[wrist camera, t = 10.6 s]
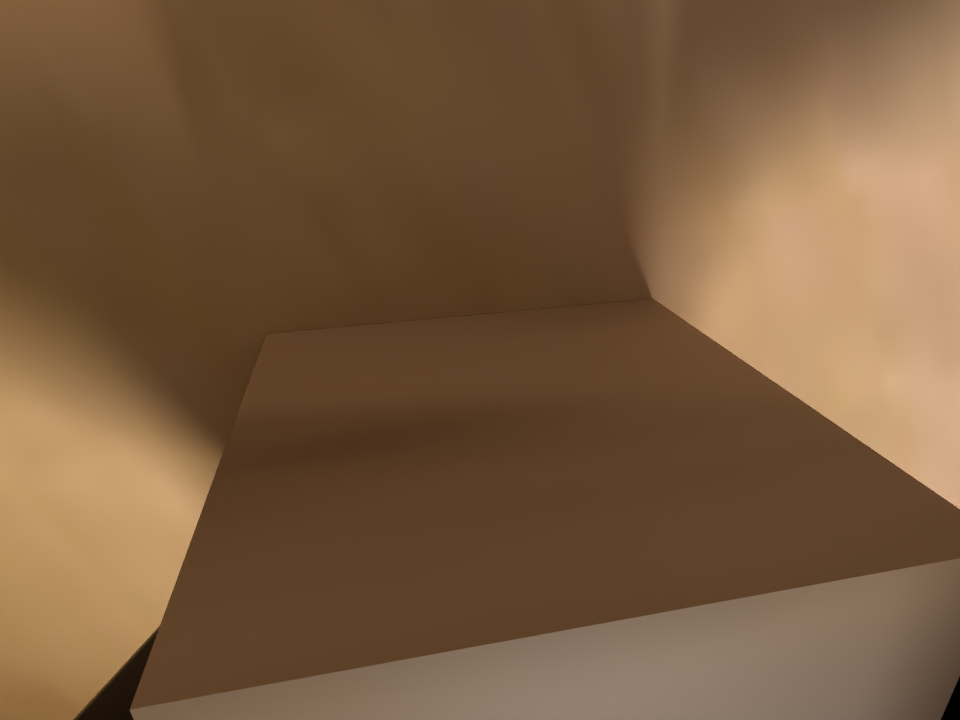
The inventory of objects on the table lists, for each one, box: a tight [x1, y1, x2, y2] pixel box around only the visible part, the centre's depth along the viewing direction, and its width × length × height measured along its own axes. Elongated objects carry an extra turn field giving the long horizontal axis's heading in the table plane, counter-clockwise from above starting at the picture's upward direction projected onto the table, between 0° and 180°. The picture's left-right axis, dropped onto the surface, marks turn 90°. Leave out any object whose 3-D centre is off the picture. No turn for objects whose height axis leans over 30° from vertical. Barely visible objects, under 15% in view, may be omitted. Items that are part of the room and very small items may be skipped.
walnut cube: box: [130, 299, 960, 720], centre depth 6 cm, size 5×5×5 cm
